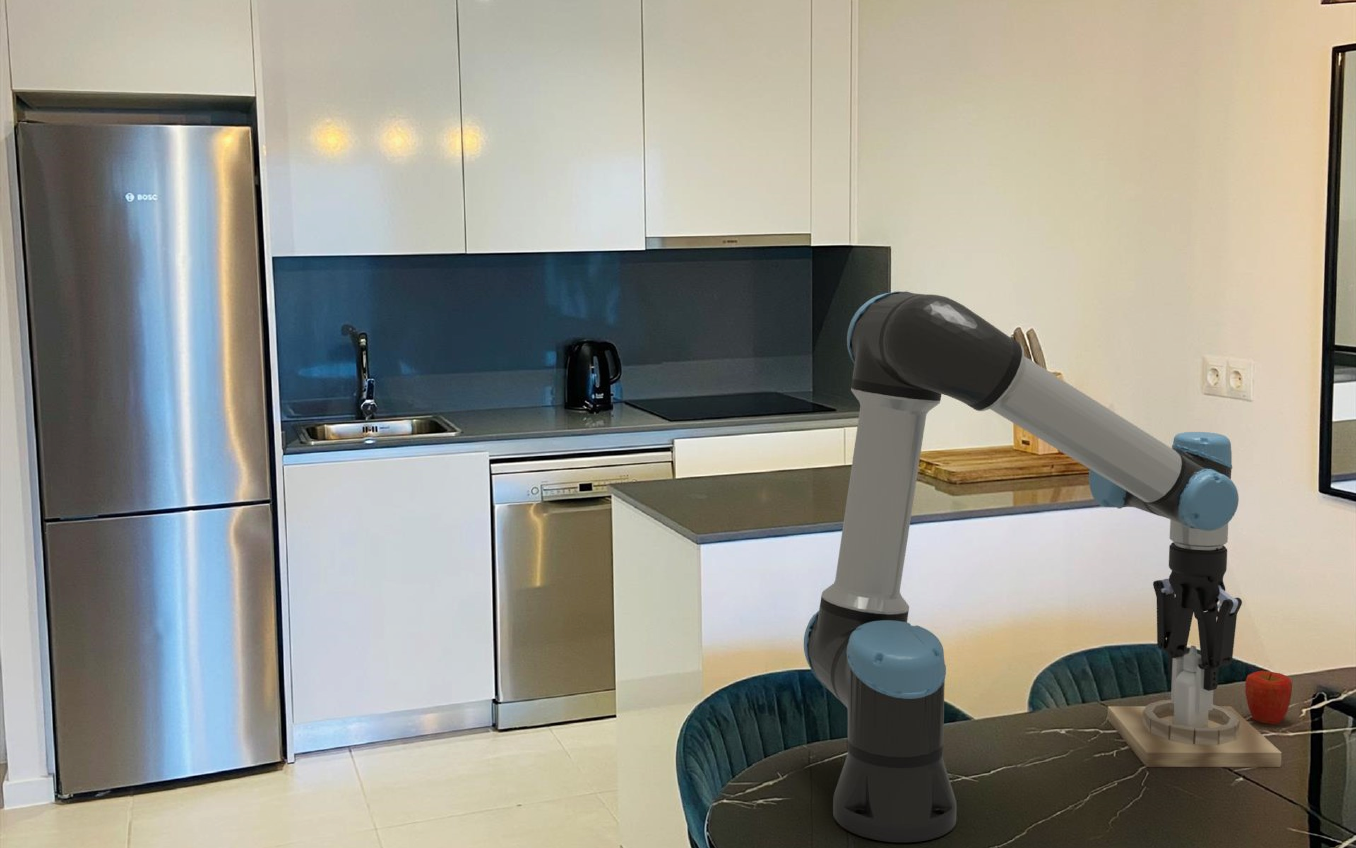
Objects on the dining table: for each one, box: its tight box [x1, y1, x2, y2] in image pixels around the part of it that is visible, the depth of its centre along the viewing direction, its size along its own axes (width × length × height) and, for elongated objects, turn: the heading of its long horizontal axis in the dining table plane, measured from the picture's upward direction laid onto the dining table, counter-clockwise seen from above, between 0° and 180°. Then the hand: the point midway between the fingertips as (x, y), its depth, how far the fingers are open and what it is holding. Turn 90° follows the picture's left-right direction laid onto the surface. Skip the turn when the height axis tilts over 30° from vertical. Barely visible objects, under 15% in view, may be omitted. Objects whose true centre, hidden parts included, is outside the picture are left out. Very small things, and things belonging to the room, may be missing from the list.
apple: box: [1244, 670, 1293, 725], centre depth 194 cm, size 6×6×8 cm
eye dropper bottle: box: [1174, 645, 1208, 728], centre depth 186 cm, size 4×6×12 cm
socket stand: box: [1106, 699, 1283, 768], centre depth 187 cm, size 18×18×4 cm
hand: (1191, 705), depth 186 cm, fingers closed on eye dropper bottle, 3 cm apart
